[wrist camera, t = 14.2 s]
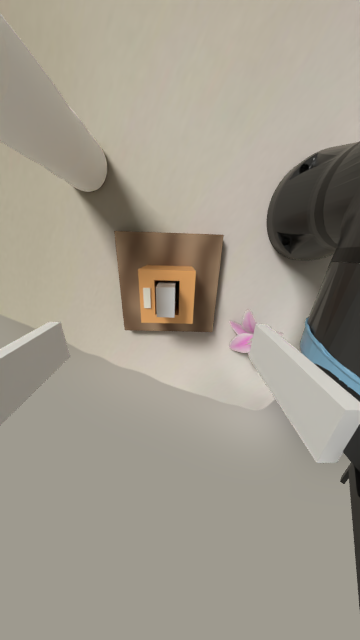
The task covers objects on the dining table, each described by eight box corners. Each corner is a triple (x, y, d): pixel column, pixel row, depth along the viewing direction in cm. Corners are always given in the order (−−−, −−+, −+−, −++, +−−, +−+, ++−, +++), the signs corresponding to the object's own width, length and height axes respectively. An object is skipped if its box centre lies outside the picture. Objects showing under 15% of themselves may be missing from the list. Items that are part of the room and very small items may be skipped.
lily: (243, 291, 35) (233, 314, 28) (302, 315, 32) (308, 347, 25) (223, 331, 42) (211, 357, 35) (269, 353, 40) (266, 386, 33)
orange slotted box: (189, 309, 33) (192, 324, 26) (148, 308, 33) (140, 323, 26) (191, 266, 30) (196, 271, 23) (146, 265, 30) (137, 269, 23)
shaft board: (220, 235, 30) (246, 227, 19) (210, 327, 37) (224, 361, 26) (118, 232, 29) (82, 221, 18) (127, 326, 36) (105, 359, 25)
